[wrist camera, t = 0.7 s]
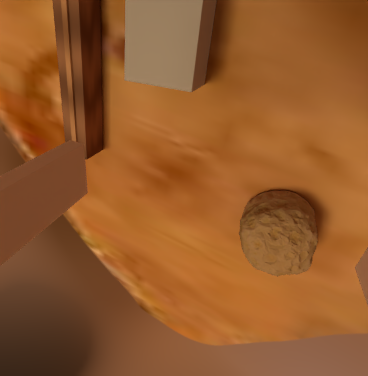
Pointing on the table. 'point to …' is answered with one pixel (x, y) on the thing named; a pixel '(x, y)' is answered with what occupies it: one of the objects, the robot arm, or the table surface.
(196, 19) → the block
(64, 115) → the brown wooden bar
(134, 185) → the table surface
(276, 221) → the decorative object
